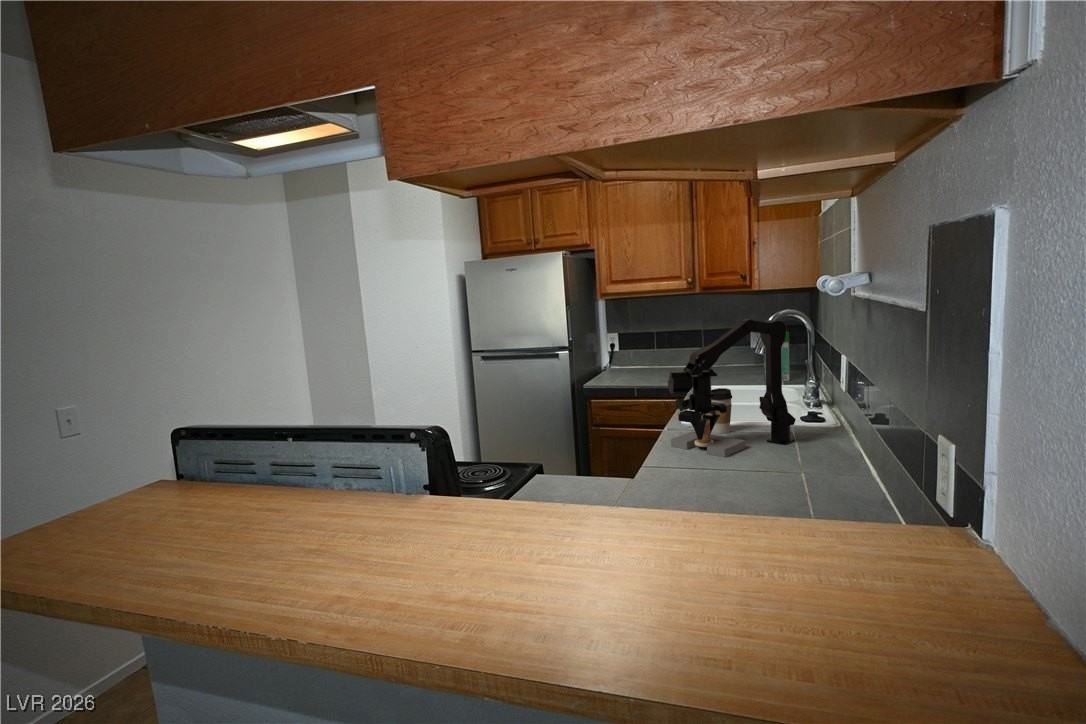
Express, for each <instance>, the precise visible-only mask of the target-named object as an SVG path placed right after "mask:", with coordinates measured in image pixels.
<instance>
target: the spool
mask: <svg viewBox="0 0 1086 724" xmlns="http://www.w3.org/2000/svg"><path fill="white" fill-rule="evenodd" d="M703 420H706V424H705V428H704V433H703V437H702V440H699V439H697V440H695V441H694V442H695V445H696V446H695V447H701V448H707V446H708V445H711V444H713V443H714V441H713V440H711V439H710V420H709V419H703Z"/></svg>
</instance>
